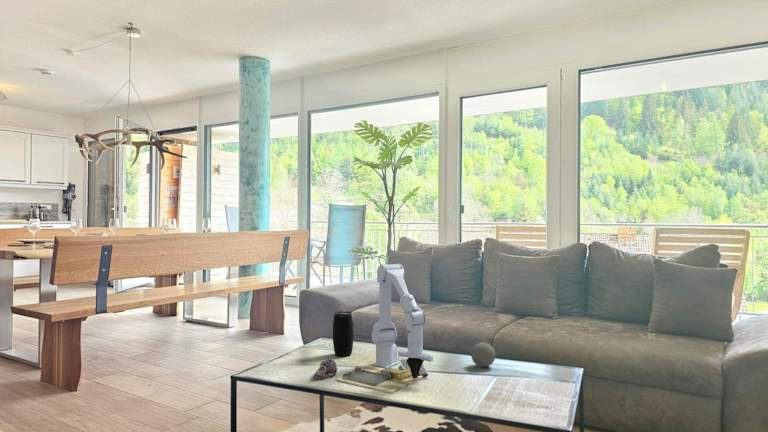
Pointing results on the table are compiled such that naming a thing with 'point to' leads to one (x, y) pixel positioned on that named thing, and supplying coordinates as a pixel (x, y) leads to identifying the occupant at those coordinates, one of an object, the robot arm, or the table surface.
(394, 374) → the loose leaf
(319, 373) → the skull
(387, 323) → the robot arm
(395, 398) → the table surface
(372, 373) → the fixed leaf
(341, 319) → the portable speaker
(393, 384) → the board
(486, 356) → the decorative ball
